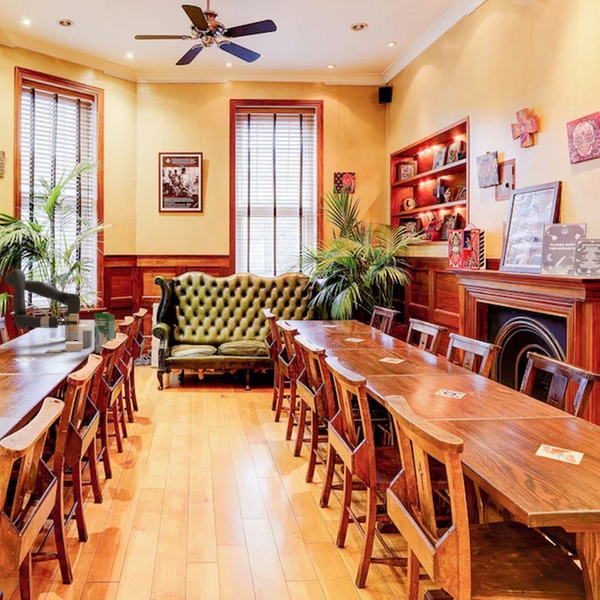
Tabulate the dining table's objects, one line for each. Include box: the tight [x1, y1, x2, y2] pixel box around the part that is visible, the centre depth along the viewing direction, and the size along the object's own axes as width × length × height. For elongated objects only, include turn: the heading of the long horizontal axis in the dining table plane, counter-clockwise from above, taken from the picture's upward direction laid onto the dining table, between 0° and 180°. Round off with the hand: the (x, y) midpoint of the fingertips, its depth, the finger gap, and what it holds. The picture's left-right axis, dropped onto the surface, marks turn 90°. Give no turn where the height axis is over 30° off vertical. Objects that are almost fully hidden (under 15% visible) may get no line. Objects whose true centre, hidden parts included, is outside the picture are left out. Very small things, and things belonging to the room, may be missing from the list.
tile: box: [44, 348, 65, 354], centre depth 341 cm, size 9×9×1 cm
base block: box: [65, 340, 84, 352], centre depth 349 cm, size 10×10×5 cm
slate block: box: [82, 329, 93, 348], centre depth 361 cm, size 5×5×11 cm
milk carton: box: [93, 311, 116, 354], centre depth 343 cm, size 9×9×25 cm
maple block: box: [69, 313, 80, 332], centre depth 348 cm, size 5×5×11 cm
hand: (78, 322), depth 348 cm, fingers closed on maple block, 4 cm apart
